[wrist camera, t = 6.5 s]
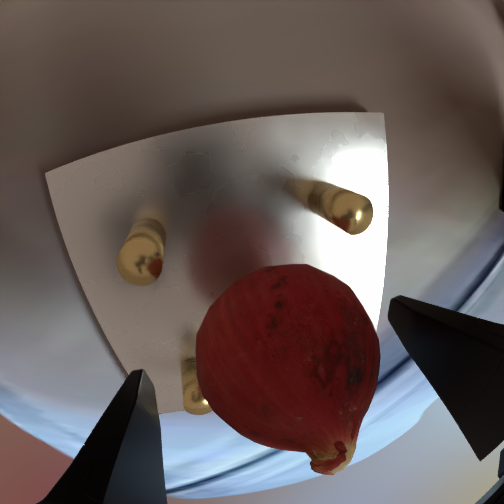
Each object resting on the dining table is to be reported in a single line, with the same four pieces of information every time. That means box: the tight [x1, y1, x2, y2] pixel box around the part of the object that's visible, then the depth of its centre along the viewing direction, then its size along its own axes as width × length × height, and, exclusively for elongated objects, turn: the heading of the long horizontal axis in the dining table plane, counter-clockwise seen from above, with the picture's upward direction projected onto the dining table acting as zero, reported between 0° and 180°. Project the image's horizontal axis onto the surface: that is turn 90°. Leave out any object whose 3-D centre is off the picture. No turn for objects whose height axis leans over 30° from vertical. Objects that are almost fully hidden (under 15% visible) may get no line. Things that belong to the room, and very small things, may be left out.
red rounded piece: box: [196, 264, 380, 475], centre depth 8 cm, size 6×6×8 cm
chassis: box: [45, 112, 388, 415], centre depth 11 cm, size 14×14×4 cm
